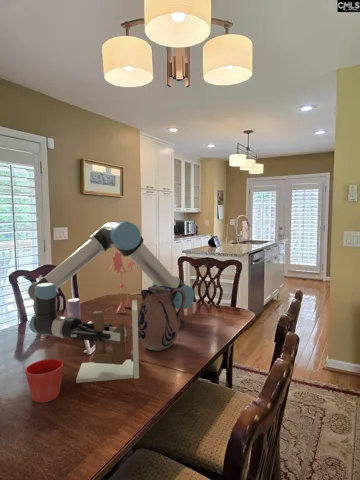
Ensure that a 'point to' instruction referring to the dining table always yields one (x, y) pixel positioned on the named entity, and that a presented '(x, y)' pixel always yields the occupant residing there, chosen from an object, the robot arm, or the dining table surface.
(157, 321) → the ceramic pitcher
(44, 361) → the flower pot
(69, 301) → the beverage can
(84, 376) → the white l-shaped bracket
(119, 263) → the figurine
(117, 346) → the wooden block
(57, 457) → the dining table surface
